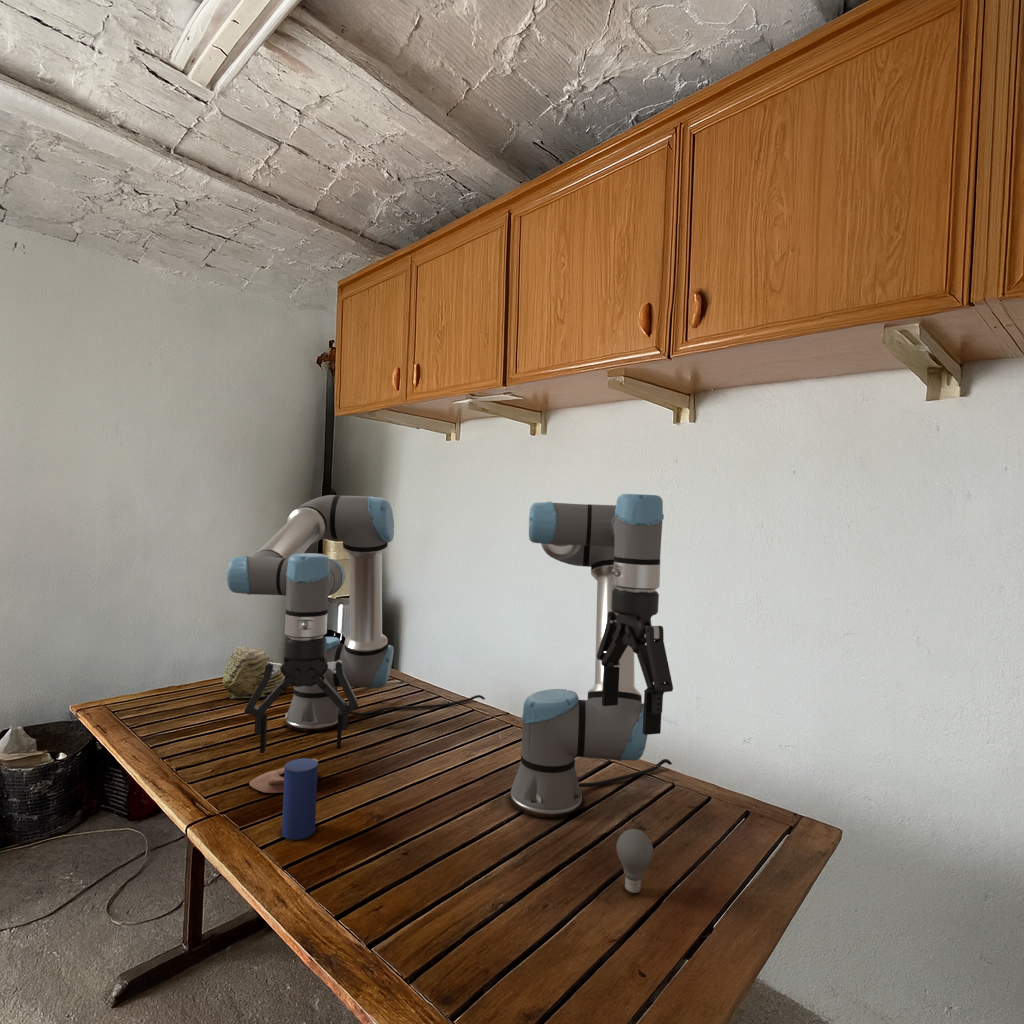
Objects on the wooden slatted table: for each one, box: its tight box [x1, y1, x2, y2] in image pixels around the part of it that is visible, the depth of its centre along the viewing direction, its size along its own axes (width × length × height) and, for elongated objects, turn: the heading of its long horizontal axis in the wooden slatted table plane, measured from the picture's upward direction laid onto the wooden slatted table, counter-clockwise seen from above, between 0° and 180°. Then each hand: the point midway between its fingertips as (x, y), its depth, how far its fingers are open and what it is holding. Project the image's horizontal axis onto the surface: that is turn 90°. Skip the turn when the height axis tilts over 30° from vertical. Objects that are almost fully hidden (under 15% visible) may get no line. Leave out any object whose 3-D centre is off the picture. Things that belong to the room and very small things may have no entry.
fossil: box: [222, 646, 286, 699], centre depth 198 cm, size 9×18×15 cm, turn 132°
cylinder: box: [281, 757, 319, 841], centre depth 120 cm, size 6×6×13 cm
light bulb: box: [615, 828, 654, 894], centre depth 106 cm, size 6×6×10 cm
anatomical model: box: [248, 758, 319, 794], centre depth 139 cm, size 13×4×12 cm
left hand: (301, 748), depth 119 cm, fingers open, 13 cm apart
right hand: (629, 718), depth 103 cm, fingers open, 13 cm apart
